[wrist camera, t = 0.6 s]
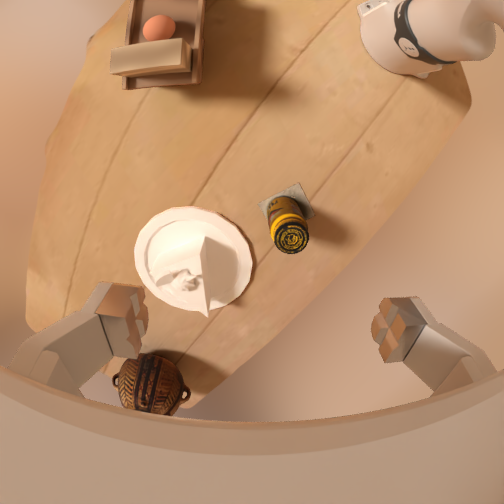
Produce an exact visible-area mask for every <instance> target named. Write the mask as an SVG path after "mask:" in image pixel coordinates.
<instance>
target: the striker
mask: <svg viewBox="0 0 504 504" xmlns="http://www.w3.org/2000/svg"><path fill="white" fill-rule="evenodd" d="M192 59H193V49H192V48H191V47H190V46H189V44H188V43H187V42H186V41H185V40H184V39H183V38H176V39H166V40H158V41H151V42H144V43H138V44H132V45H127V46H122V47H117V48H113V49H111V61H110V74H113V75H119V76H124V77H130V78H133V77H140V76H148V75H157V74H167V73H180V72H192Z"/></svg>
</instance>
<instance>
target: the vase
mask: <svg viewBox="0 0 504 504" xmlns="http://www.w3.org/2000/svg"><path fill="white" fill-rule="evenodd" d="M116 378H118V385H116V384H115V380H116ZM112 383H113V386H114V388H115V389H116V390H117V391H118V392H119V397H120V400H121V403H122V406H123V408H126V409H131V410H136V411H141V412H146V413H152V414H158V415H165V416H172V415H173V414H174V413H175V412H176V411H177V409H178V407H179V405H181V404H183V403H185V402H186V401H188V400H189V398H190V396H191V392H190V389H189V388H188V387H187V386H186V385H185V384H184V382H183V378H182V375H181V373H180V371H179V370H178V368H177V367H176V366H175V365H174V364H173V363H172V362H170V361H169V360H167V359H165V358H162V357H160V356H156V355H152V354H145V353H140V354H139V355H138V358H137V359H131V358H128V359H127V360H126V361H125V362H124V363H123V365H122V367H121V369H120V372H119V373H117V374H115V375H114V376H113V379H112ZM184 391H185V392H187V396H186V397H185V398H184V399H183V398H182V395H183V392H184Z"/></svg>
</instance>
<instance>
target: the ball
mask: <svg viewBox="0 0 504 504" xmlns="http://www.w3.org/2000/svg"><path fill="white" fill-rule="evenodd" d="M174 32H175V22H174V21H173V19H172V18H170V17H169V16H166V15H157V16H154V17H152V18H150V19H149V20H148V21H147V22H146V23H145V25H144V27H143V35H144V37H145V38H146V39H147V40H148V41H150V42H151V41H158V40H166V39H169V38H171V37H172V35H173V34H174Z"/></svg>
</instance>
